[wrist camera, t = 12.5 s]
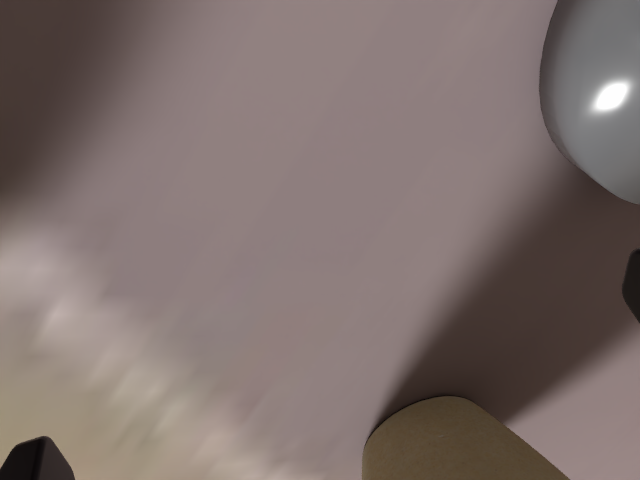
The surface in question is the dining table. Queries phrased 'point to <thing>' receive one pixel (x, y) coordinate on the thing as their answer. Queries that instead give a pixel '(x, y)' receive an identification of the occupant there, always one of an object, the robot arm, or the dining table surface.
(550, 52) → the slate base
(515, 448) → the plant pot
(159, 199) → the dining table surface
